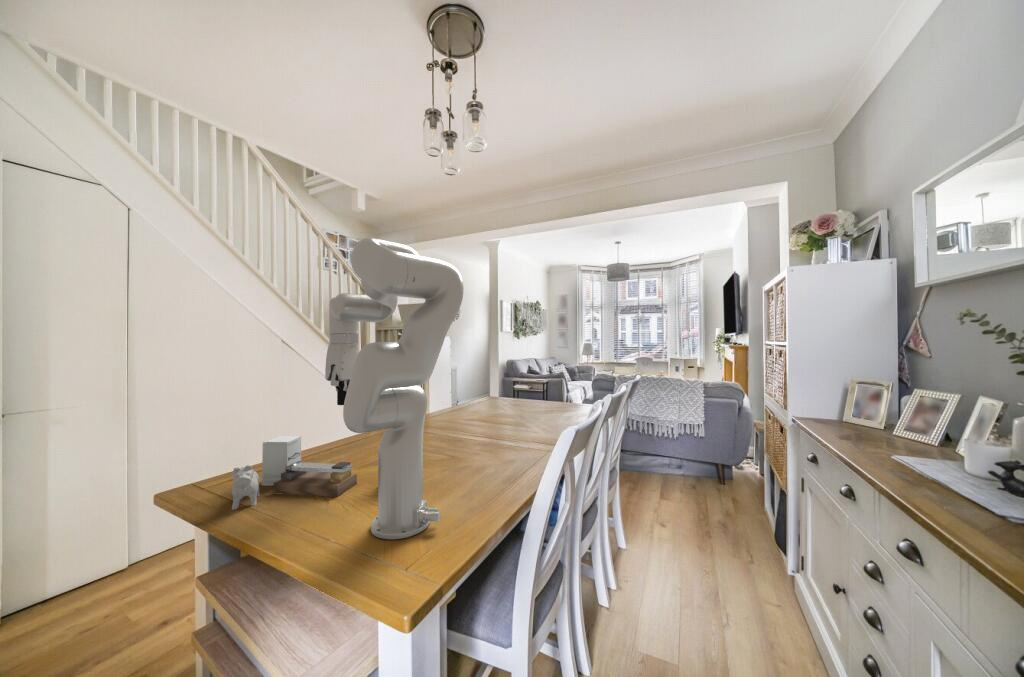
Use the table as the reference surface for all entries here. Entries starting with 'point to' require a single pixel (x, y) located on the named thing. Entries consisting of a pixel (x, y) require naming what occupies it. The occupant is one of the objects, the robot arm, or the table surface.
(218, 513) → the table surface
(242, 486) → the dog figurine
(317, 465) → the grey flat bar
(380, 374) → the robot arm
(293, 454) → the supplement box
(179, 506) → the table surface
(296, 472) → the mount block
